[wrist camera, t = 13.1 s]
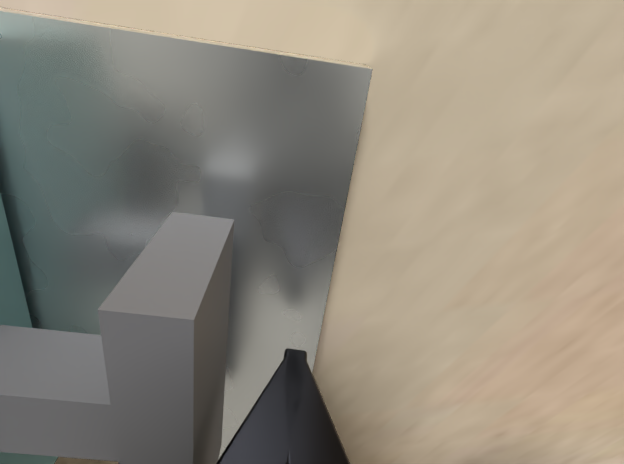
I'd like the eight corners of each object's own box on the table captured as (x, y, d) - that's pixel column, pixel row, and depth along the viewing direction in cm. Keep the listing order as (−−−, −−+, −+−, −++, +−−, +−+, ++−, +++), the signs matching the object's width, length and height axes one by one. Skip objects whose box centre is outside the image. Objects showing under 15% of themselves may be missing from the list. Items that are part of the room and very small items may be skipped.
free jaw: (224, 463, 13) (179, 692, 8) (-20, 443, 12) (-207, 677, 8) (250, 79, 7) (159, 150, 3) (-186, 13, 7) (-1092, -20, 2)
